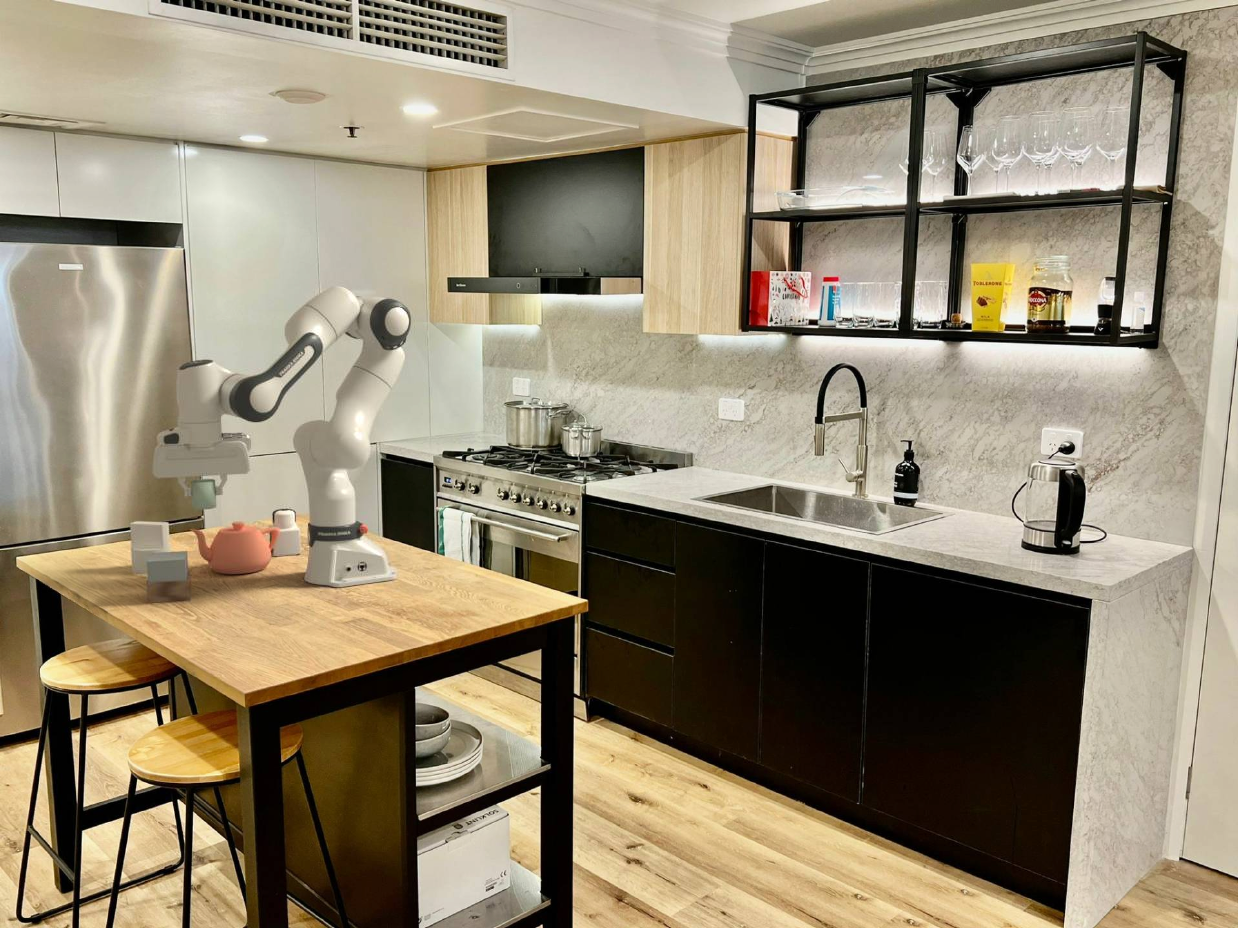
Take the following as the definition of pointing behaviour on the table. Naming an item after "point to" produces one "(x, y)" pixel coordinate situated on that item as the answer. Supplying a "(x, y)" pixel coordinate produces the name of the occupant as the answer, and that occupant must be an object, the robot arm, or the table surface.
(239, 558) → the teapot
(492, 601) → the table surface
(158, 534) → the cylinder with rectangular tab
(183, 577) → the top block
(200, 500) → the pale green cylinder
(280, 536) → the white bottle
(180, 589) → the bottom block
